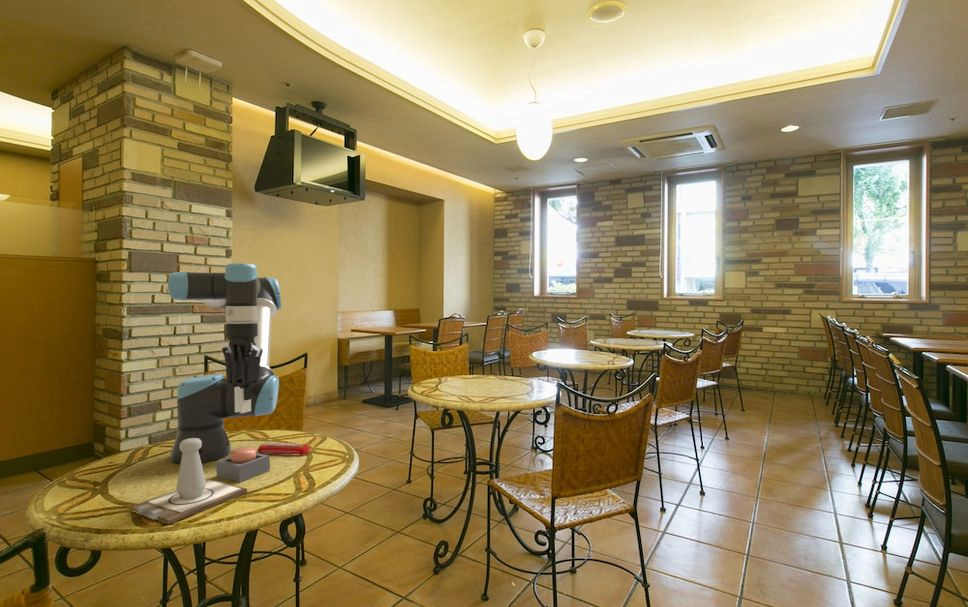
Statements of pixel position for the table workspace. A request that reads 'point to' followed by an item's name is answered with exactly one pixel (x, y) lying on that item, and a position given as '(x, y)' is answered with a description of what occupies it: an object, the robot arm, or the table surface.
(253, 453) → the button
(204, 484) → the salt shaker
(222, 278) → the robot arm
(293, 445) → the candy bar
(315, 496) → the table surface
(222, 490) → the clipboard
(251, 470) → the button housing
